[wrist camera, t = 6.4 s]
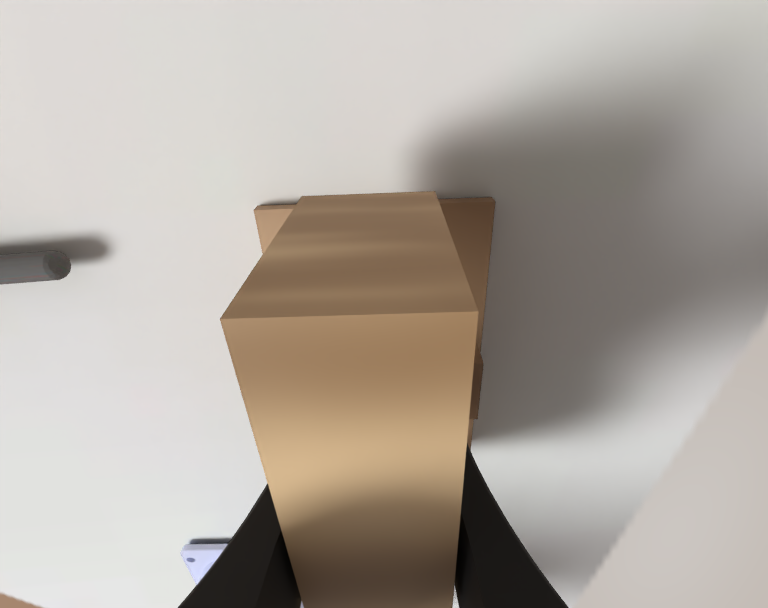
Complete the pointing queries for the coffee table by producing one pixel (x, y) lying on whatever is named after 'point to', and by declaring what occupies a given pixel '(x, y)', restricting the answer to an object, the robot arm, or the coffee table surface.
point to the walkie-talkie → (33, 267)
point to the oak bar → (361, 395)
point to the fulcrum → (473, 246)
